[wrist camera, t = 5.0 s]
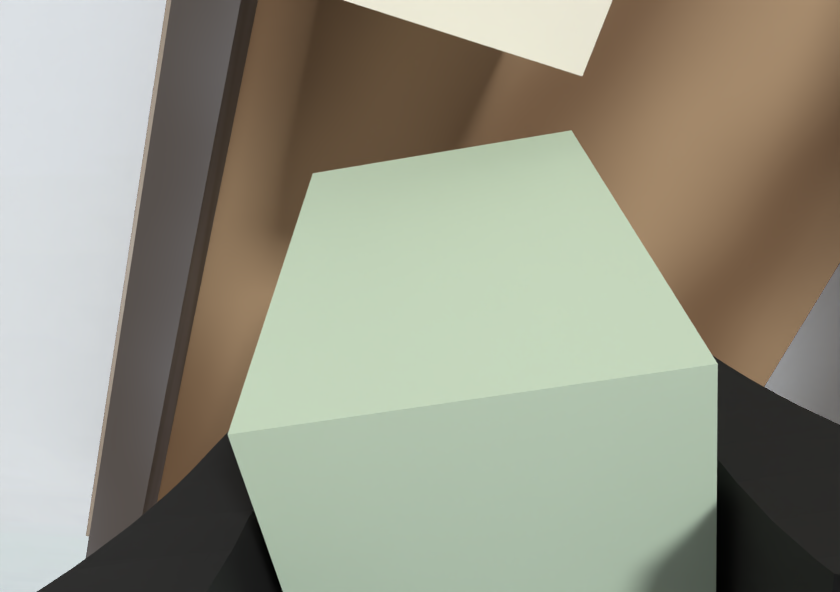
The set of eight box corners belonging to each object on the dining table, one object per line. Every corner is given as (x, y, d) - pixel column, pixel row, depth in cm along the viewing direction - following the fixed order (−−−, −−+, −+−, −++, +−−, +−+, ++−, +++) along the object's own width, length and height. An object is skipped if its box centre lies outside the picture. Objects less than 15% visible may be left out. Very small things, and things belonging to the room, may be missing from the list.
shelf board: (1081, -223, 16) (1252, -247, 13) (607, 588, 27) (634, 688, 24) (295, -552, 14) (260, -683, 10) (120, 482, 24) (75, 575, 21)
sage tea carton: (571, 129, 12) (717, 362, 6) (598, 463, 15) (714, 826, 9) (302, 175, 12) (209, 437, 7) (382, 493, 15) (365, 863, 10)
